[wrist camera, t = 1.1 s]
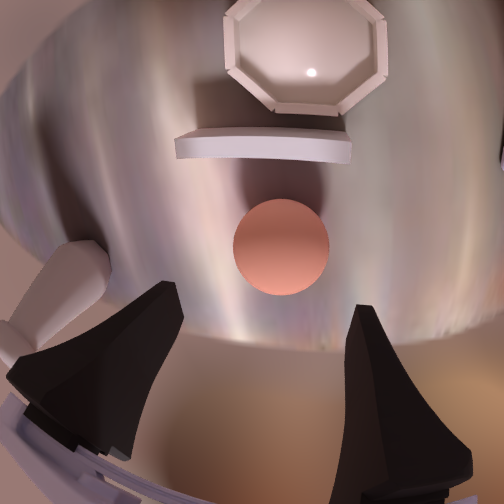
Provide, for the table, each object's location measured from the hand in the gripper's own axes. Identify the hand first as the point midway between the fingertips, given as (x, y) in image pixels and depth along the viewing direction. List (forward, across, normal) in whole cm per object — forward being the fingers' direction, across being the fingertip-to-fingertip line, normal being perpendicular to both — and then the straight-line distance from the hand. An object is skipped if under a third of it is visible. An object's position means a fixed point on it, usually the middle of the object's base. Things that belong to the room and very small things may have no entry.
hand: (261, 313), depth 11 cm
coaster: (+7, -1, -10) cm, 13 cm away
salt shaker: (+8, +17, +4) cm, 19 cm away
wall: (+7, +1, -5) cm, 9 cm away
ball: (+7, 0, 0) cm, 7 cm away
